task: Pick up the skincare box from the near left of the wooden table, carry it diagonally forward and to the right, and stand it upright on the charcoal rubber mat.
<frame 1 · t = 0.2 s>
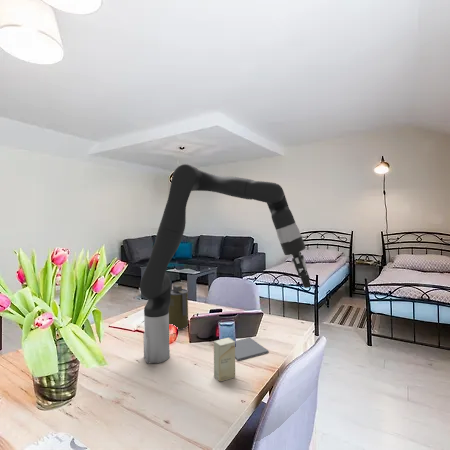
hand: (307, 283, 98), 31 cm above the table, tool tilted 20°, fingers open, 8 cm apart
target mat: (244, 349, 118), on the table
canister: (178, 326, 144), on the table
skincare box: (224, 377, 98), on the table
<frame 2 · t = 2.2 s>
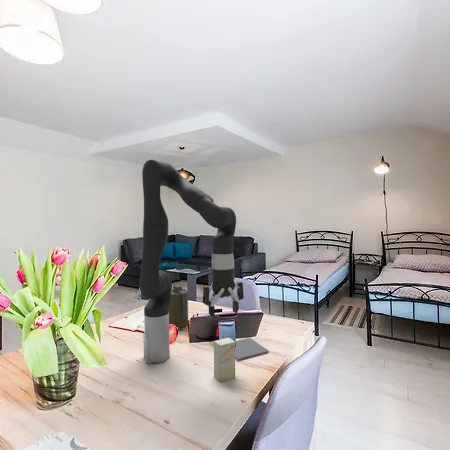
hand: (223, 314, 98), 21 cm above the table, tool pointing down, fingers open, 8 cm apart
nothing on the table moved.
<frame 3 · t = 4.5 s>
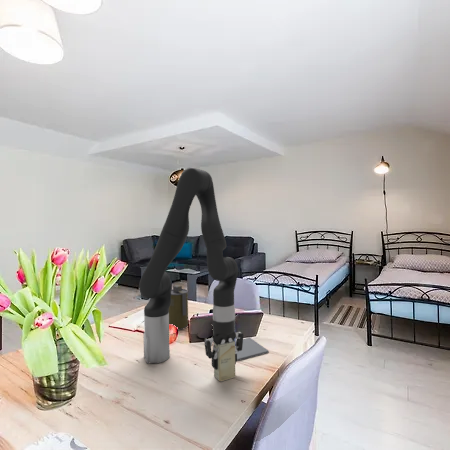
hand: (224, 365, 98), 4 cm above the table, tool pointing down, fingers closed on skincare box, 6 cm apart
skincare box: (224, 377, 98), on the table, touching gripper
everything else where it was.
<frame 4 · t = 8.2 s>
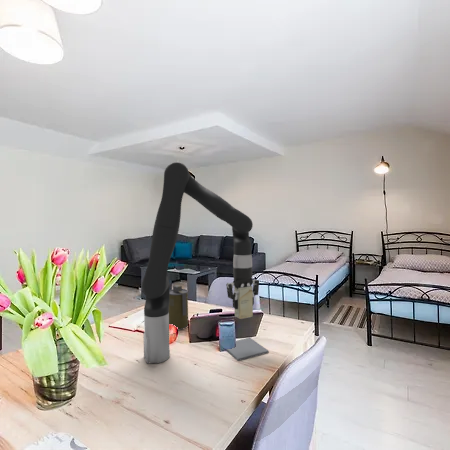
hand: (243, 307, 116), 18 cm above the table, tool pointing down, fingers closed on skincare box, 6 cm apart
skincare box: (243, 316, 116), point 14 cm above the table, touching gripper
everything else where it was.
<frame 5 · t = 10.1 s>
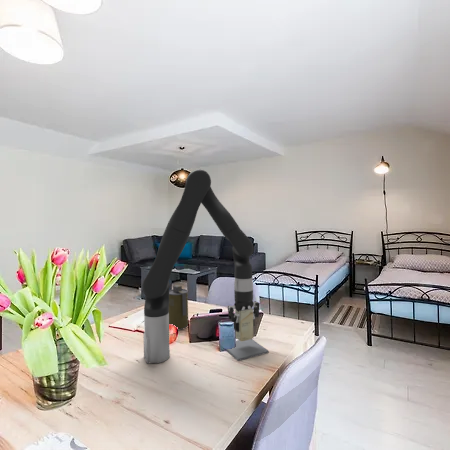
hand: (244, 329, 118), 8 cm above the table, tool pointing down, fingers closed on skincare box, 6 cm apart
skincare box: (244, 338, 118), point 4 cm above the table, touching gripper
everything else where it was.
when the fingers open (5 cm above the table, at t = 11.7 s): skincare box stays where it is, resting on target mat.
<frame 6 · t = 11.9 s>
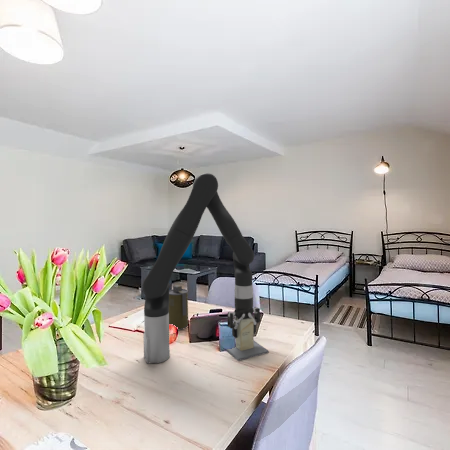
hand: (244, 335, 118), 6 cm above the table, tool pointing down, fingers open, 8 cm apart
skincare box: (244, 347, 118), point 1 cm above the table, touching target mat
everything else where it was.
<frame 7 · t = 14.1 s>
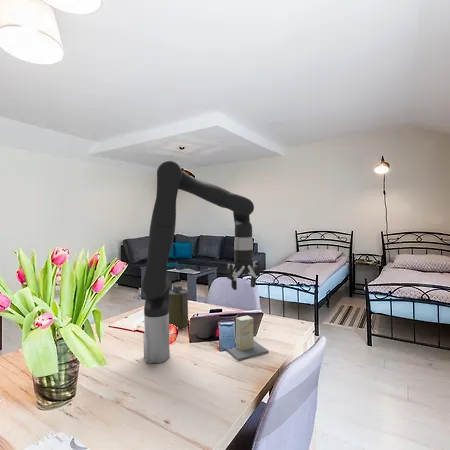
hand: (243, 288, 117), 25 cm above the table, tool pointing down, fingers open, 8 cm apart
nothing on the table moved.
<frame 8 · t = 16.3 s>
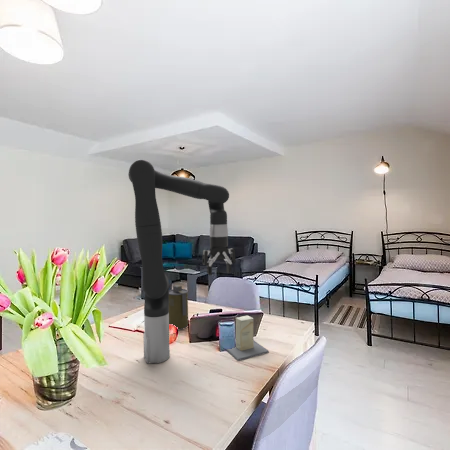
hand: (219, 274, 121), 30 cm above the table, tool pointing down, fingers open, 8 cm apart
nothing on the table moved.
at the end: skincare box inside the target area on the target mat (0.2 cm from its centre), point 0.6 cm above the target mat's base; skincare box tilted 0°; the gripper is holding nothing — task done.
